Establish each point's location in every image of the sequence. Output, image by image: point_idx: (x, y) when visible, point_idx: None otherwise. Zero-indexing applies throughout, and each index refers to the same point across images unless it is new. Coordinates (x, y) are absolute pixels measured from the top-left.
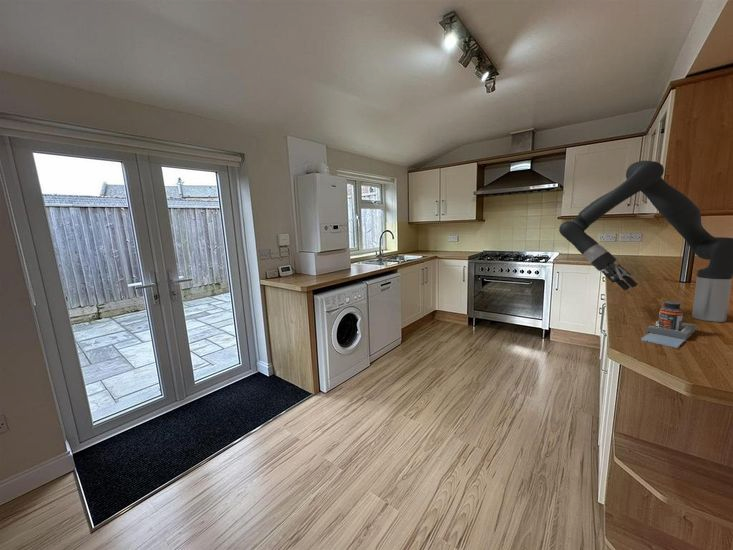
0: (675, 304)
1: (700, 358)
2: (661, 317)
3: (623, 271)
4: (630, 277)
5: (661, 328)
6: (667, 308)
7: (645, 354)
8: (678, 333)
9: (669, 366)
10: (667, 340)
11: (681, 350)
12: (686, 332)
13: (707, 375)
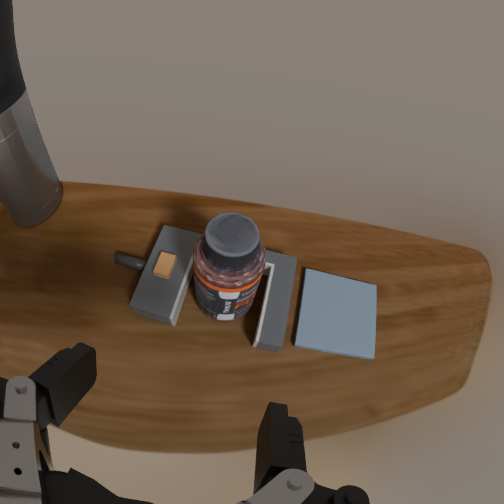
0: (256, 227)
1: (403, 258)
2: (248, 296)
3: (36, 457)
4: (43, 383)
5: (272, 309)
6: (256, 261)
7: (452, 336)
8: (293, 273)
9: (470, 300)
10: (343, 303)
11: (382, 282)
12: (276, 255)
13: (461, 260)
